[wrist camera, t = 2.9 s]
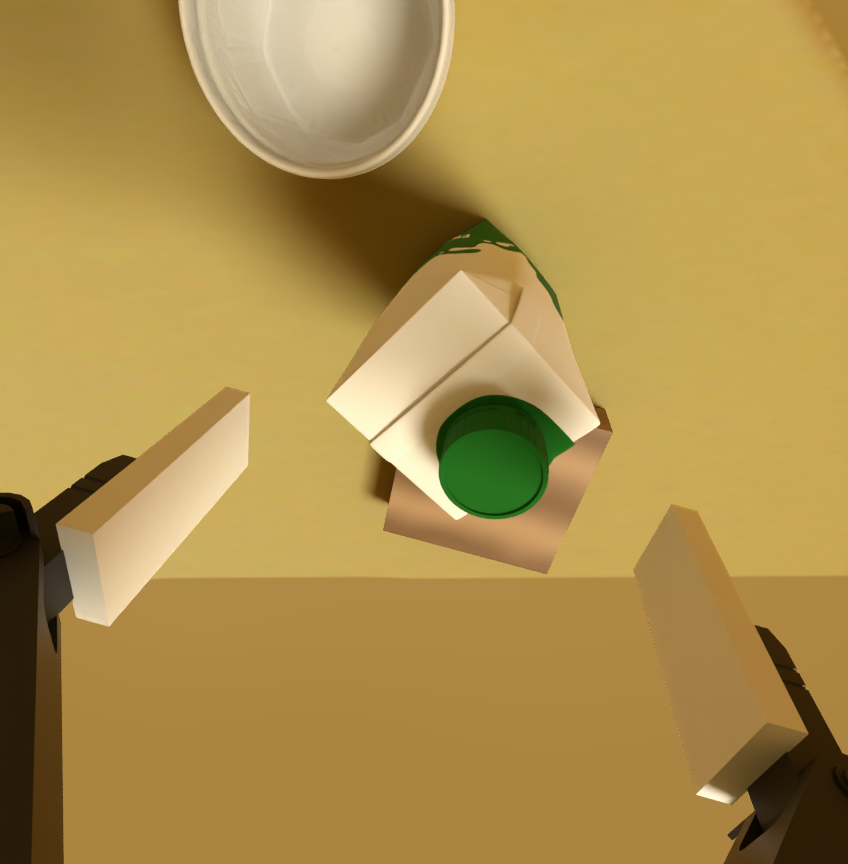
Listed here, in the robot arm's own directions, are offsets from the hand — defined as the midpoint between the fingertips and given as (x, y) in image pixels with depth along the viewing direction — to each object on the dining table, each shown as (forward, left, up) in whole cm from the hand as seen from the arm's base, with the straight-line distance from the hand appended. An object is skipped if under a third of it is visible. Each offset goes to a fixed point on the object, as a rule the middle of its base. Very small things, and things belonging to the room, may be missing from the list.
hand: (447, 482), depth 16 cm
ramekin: (-12, -11, -23) cm, 28 cm away
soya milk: (0, 0, -23) cm, 23 cm away
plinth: (+13, +4, -23) cm, 27 cm away
